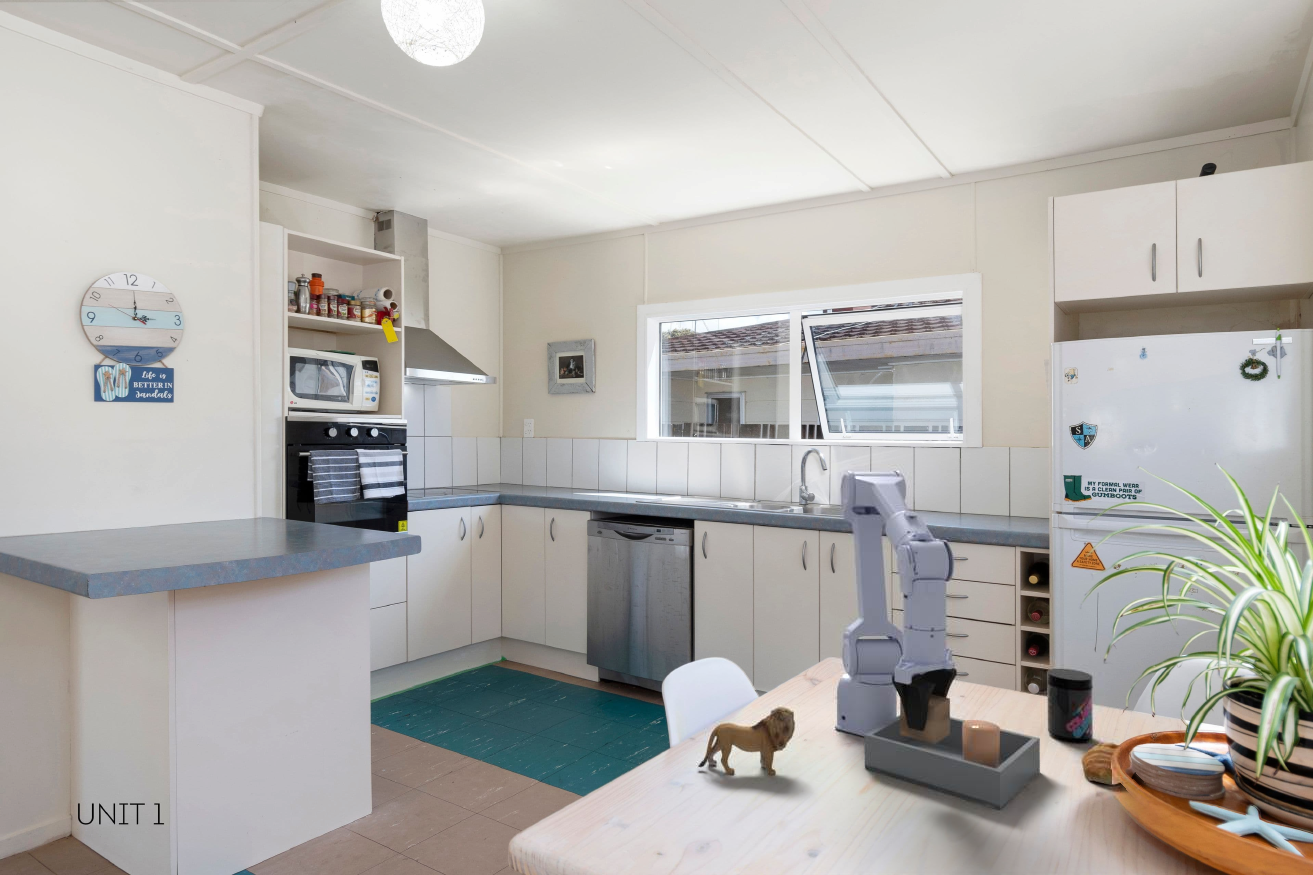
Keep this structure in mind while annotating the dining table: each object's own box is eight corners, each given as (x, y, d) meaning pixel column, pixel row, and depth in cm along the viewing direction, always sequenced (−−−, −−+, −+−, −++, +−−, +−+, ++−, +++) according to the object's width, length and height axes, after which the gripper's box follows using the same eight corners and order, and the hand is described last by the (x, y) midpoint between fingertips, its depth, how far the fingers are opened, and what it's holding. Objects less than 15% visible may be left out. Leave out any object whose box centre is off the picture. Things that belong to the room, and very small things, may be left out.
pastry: (1126, 793, 108) (1125, 766, 108) (1072, 780, 112) (1072, 754, 112) (1139, 772, 115) (1138, 746, 115) (1088, 761, 119) (1087, 736, 119)
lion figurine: (790, 760, 118) (790, 701, 119) (799, 774, 113) (799, 713, 113) (695, 763, 117) (695, 704, 117) (700, 778, 112) (700, 716, 112)
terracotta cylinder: (958, 775, 111) (958, 727, 112) (967, 764, 115) (967, 717, 116) (995, 784, 108) (995, 734, 109) (1003, 772, 112) (1003, 724, 113)
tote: (864, 768, 115) (864, 734, 116) (912, 738, 128) (912, 707, 128) (1000, 809, 102) (1000, 771, 102) (1039, 771, 114) (1039, 738, 114)
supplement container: (1058, 743, 125) (1058, 679, 126) (1040, 729, 132) (1039, 667, 132) (1101, 745, 125) (1100, 680, 125) (1080, 730, 132) (1080, 668, 132)
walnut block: (900, 734, 108) (900, 698, 108) (915, 725, 112) (915, 690, 112) (935, 743, 105) (935, 707, 105) (949, 734, 108) (949, 698, 108)
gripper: (930, 640, 100) (930, 745, 100) (973, 622, 111) (973, 717, 111) (880, 631, 105) (880, 731, 105) (925, 614, 116) (925, 705, 116)
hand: (924, 723), depth 108 cm, fingers closed on walnut block, 5 cm apart
